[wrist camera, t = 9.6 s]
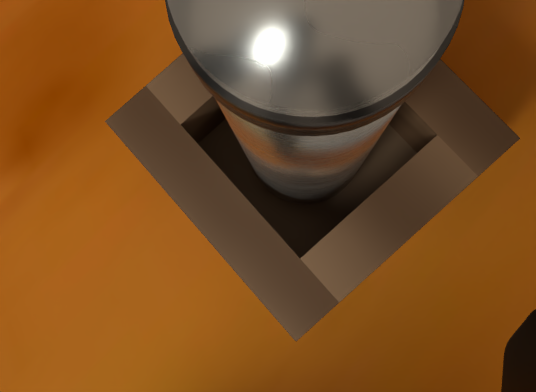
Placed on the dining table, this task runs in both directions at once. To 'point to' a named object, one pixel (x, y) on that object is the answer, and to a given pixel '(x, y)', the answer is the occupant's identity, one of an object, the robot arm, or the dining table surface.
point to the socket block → (318, 214)
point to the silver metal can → (311, 78)
